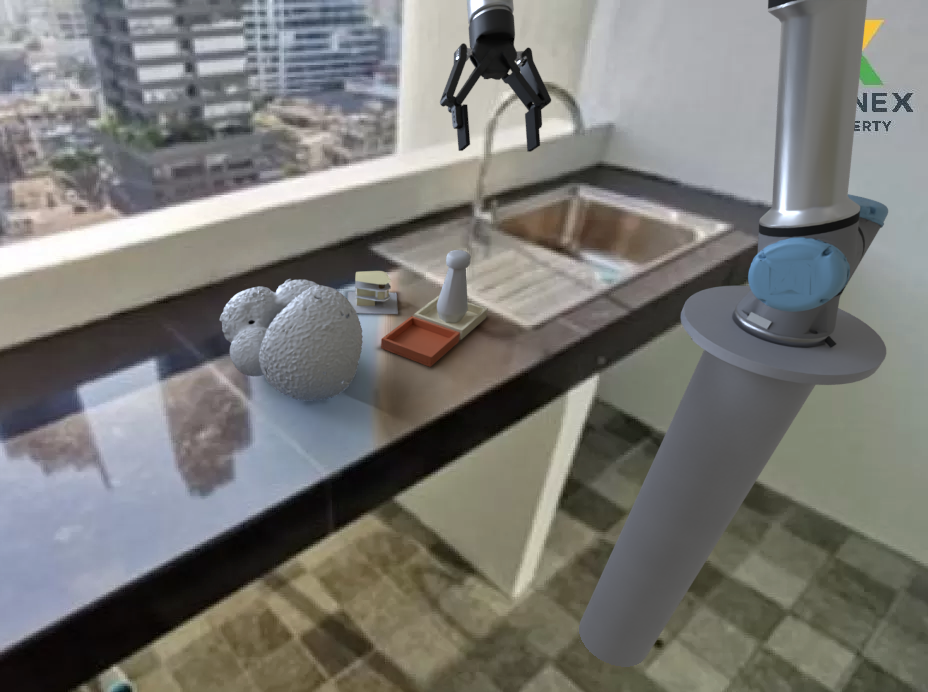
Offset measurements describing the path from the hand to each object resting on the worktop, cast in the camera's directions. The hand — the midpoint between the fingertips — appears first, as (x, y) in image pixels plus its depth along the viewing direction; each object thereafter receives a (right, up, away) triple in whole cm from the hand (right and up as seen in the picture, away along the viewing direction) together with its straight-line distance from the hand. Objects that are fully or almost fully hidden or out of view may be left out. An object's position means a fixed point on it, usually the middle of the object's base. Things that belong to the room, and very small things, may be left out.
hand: (499, 148), depth 105 cm
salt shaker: (-6, -28, +11) cm, 30 cm away
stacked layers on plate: (-21, -23, +17) cm, 36 cm away
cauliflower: (-35, -40, -3) cm, 53 cm away
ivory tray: (-6, -28, +11) cm, 31 cm away
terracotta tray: (-13, -34, +4) cm, 36 cm away
